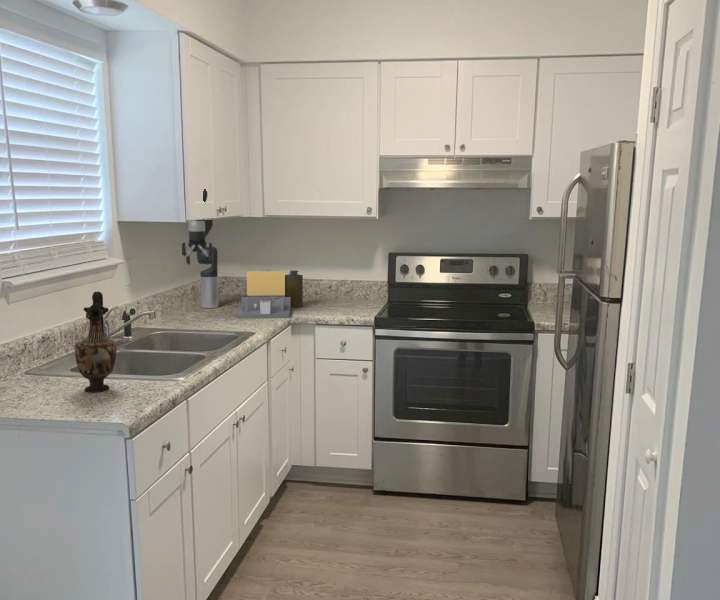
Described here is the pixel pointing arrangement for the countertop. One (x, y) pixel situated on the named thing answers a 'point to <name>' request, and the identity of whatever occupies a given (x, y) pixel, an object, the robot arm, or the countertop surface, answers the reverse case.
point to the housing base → (253, 308)
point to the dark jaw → (276, 304)
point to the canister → (294, 288)
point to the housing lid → (265, 283)
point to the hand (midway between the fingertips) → (198, 264)
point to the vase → (96, 348)
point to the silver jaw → (265, 307)
